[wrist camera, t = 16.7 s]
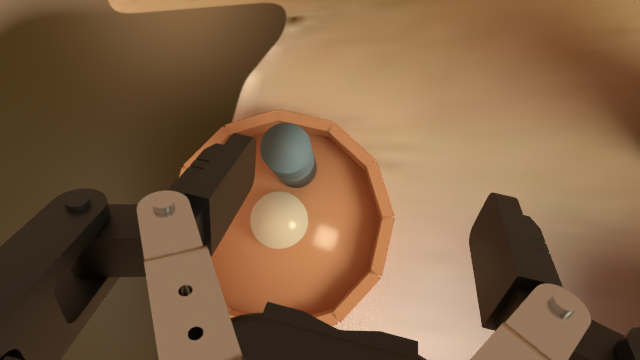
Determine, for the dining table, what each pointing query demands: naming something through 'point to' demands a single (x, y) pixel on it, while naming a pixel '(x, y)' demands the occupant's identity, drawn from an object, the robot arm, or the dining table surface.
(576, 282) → the dining table surface
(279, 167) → the bead peg
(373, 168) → the ring tray
